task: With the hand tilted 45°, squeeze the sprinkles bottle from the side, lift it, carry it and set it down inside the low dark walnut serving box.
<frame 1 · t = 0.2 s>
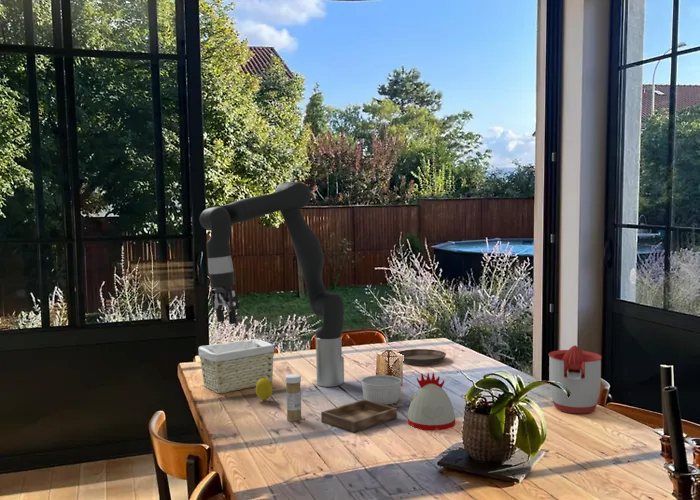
hand: (226, 322, 204), 28 cm above the table, tool pointing down, fingers open, 8 cm apart
lemon: (264, 401, 217), on the table
plant saucer: (421, 361, 270), on the table
citrus juicer: (574, 410, 202), on the table
kitchen timer: (431, 423, 192), on the table
storage basket: (237, 385, 237), on the table
sprinkles bottle: (294, 419, 197), on the table
ramekin: (381, 401, 215), on the table
serving box: (359, 420, 195), on the table
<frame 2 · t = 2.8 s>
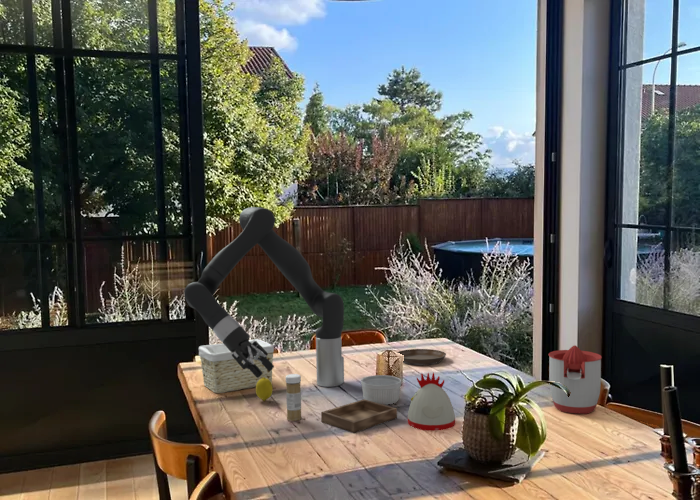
hand: (266, 372, 199), 14 cm above the table, tool tilted 45°, fingers open, 8 cm apart
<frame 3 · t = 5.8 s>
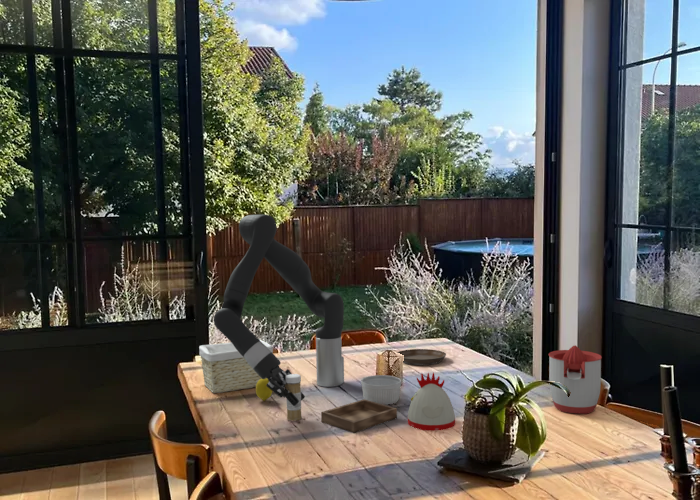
hand: (299, 401, 197), 6 cm above the table, tool tilted 45°, fingers closed on sprinkles bottle, 4 cm apart
sprinkles bottle: (294, 419, 197), on the table, touching gripper
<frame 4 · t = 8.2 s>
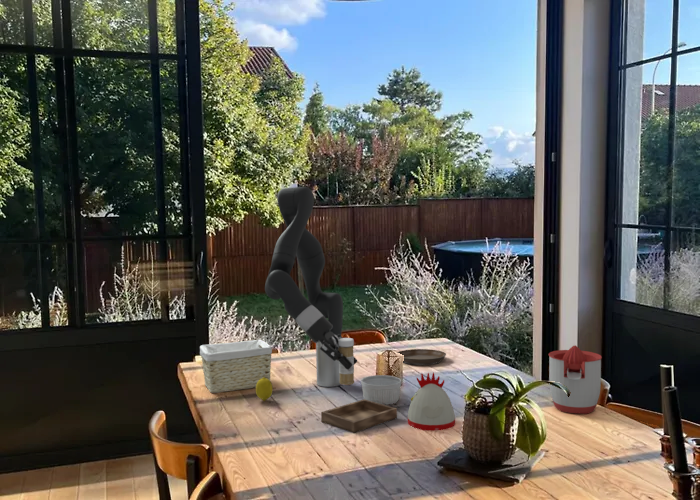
hand: (352, 365, 194), 17 cm above the table, tool tilted 45°, fingers closed on sprinkles bottle, 4 cm apart
sprinkles bottle: (346, 384, 195), point 11 cm above the table, touching gripper
when the fingers open (7 cm above the table, at t = 10.7 s): sprinkles bottle stays where it is, resting on serving box.
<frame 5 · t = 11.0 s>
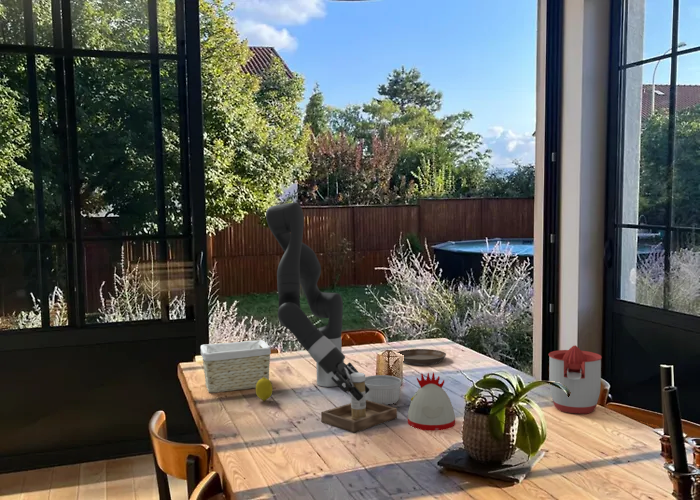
hand: (364, 395, 195), 8 cm above the table, tool tilted 45°, fingers open, 6 cm apart
sprinkles bottle: (358, 418, 195), resting on serving box
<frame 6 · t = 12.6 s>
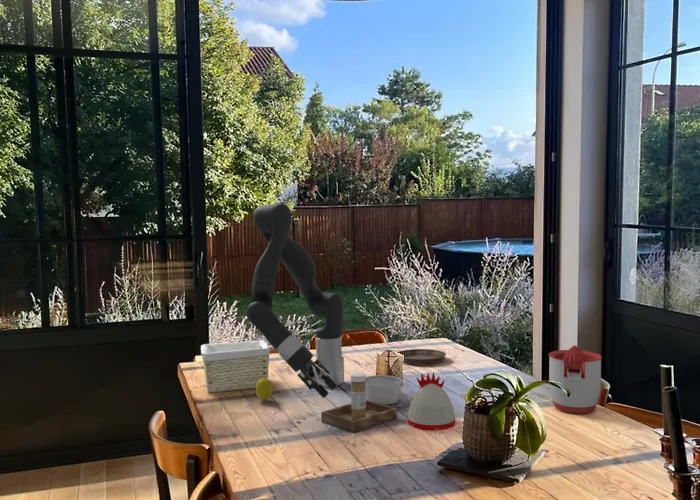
hand: (330, 391, 198), 8 cm above the table, tool tilted 45°, fingers open, 8 cm apart
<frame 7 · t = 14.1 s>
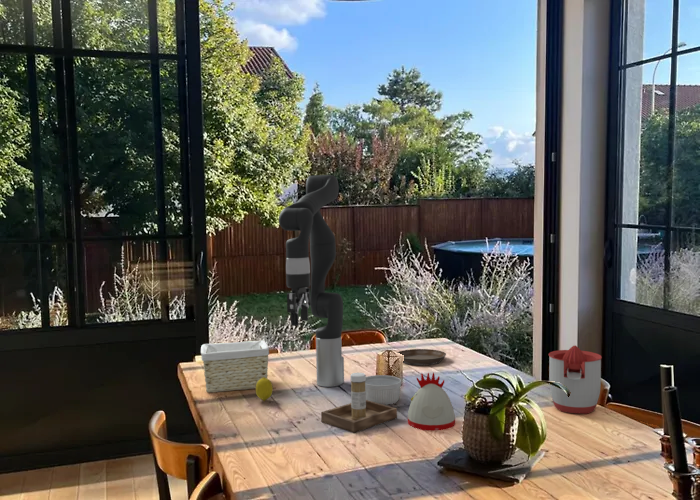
hand: (299, 322, 206), 28 cm above the table, tool pointing down, fingers open, 8 cm apart
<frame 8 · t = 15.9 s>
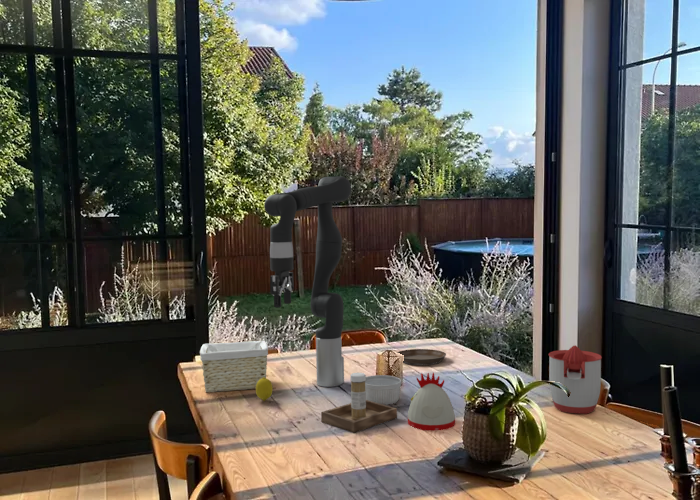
hand: (282, 305, 213), 32 cm above the table, tool pointing down, fingers open, 8 cm apart
at the end: sprinkles bottle inside the target area on the serving box (0.2 cm from its centre), point 0.4 cm above the serving box's base; sprinkles bottle tilted 0°; the gripper is holding nothing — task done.
